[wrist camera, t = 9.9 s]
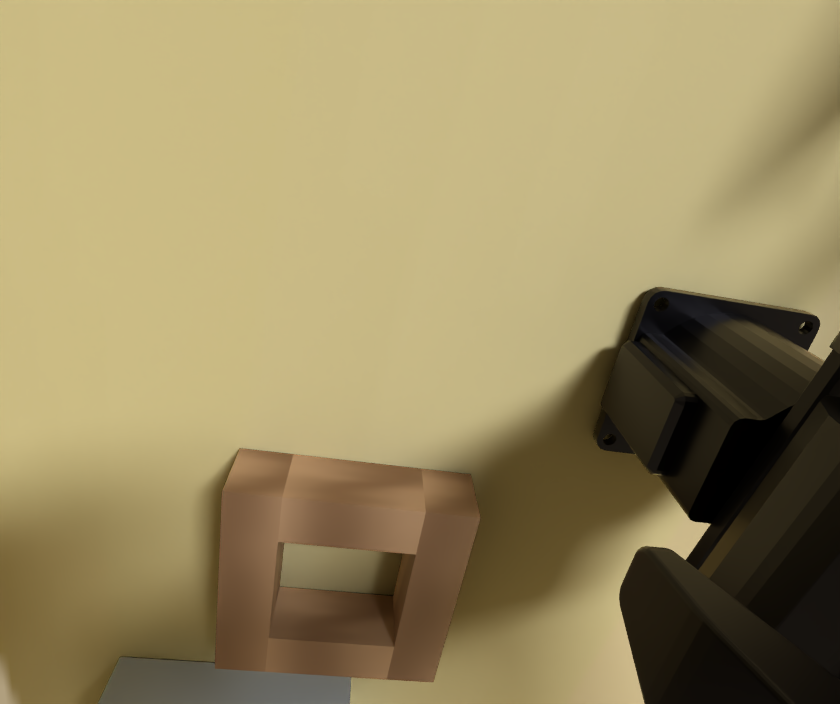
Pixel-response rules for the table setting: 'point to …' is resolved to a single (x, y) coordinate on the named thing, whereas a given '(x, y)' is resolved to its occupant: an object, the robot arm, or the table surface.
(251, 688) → the socket
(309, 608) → the mount
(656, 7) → the table surface
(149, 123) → the table surface
